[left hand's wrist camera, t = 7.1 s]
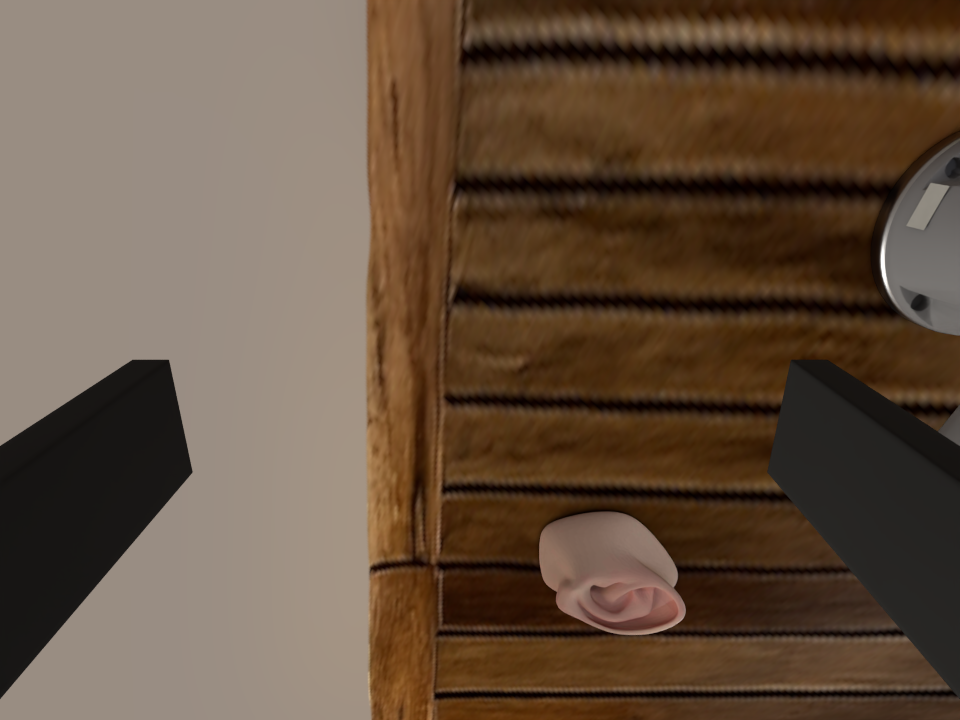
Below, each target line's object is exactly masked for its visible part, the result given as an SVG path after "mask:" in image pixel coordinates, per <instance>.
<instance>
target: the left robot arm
mask: <svg viewBox="0 0 960 720" xmlns="http://www.w3.org/2000/svg"><path fill="white" fill-rule="evenodd" d="M871 266H872V273H873V276H874V280H875V283H876V285H877V288H878V290H879V292H880V294H881V295H882V297H883V298H884V300H885V301H886V303H887V304H888V305H889V306H890V307H891V308H892V309H893V310H894V311H895V312H897V313H898V314H899V315H901V316H902V317H904V318H905V319H907V320H909V321H912V322H914V323H916V324H918V325H921V326H923V327H925V328H927V329H930V330H933V331H936V332H941V333H945V334H953V335H960V131H959V132H957V133H955V134H953V135H951V136H949V137H947V138H946V139H944V140H942V141H941V142H939V143H938V144H936V145H935V146H933V147H932V148H930V149H929V150H928V151H927V152H925V153H924V154H923V155H922V156H921V157H920V158H919V159H917V160H916V161H915V162H914V163H913V164H912V165H911V166H910V167H909V168H908V170H907V171H906V172H905V173H904V174H903V175H902V177H901V178H900V179H899V180H898V182H897V183H896V184H895V186H894V187H893V189H892V190H891V192H890V193H889V195H888V197H887V199H886V201H885V202H884V204H883V207H882V209H881V211H880V213H879V216H878V219H877V221H876V225H875V228H874V232H873V237H872V243H871ZM191 474H192V467H191V462H190V458H189V453H188V448H187V443H186V439H185V434H184V429H183V424H182V420H181V415H180V410H179V405H178V401H177V396H176V391H175V386H174V382H173V377H172V372H171V367H170V363H169V360H132V361H130V362H129V363H127V364H125V365H124V366H122V367H121V368H119V369H118V370H116V371H115V372H113V373H112V374H110V375H109V376H107V377H106V378H104V379H102V380H101V381H99V382H98V383H96V384H95V385H93V386H92V387H90V388H89V389H87V390H86V391H84V392H83V393H81V394H79V395H78V396H76V397H75V398H73V399H72V400H70V401H69V402H67V403H66V404H64V405H63V406H61V407H59V408H58V409H56V410H55V411H53V412H52V413H50V414H49V415H47V416H46V417H44V418H43V419H41V420H39V421H38V422H36V423H35V424H33V425H32V426H30V427H29V428H27V429H26V430H24V431H23V432H21V433H19V434H18V435H16V436H15V437H13V438H12V439H10V440H9V441H7V442H6V443H4V444H3V445H1V446H0V699H1V697H2V696H3V695H4V694H5V693H6V691H7V690H8V689H9V688H10V687H11V686H12V684H13V683H14V682H15V681H16V680H17V679H18V677H19V676H20V675H21V674H22V673H23V671H24V670H25V669H26V668H27V667H28V666H29V664H30V663H31V662H32V661H33V660H34V658H35V657H36V656H37V655H38V654H39V653H40V651H41V650H42V649H43V648H44V647H45V646H46V644H47V643H48V642H49V641H50V640H51V638H52V637H53V636H54V635H55V634H56V633H57V631H58V630H59V629H60V628H61V627H62V625H63V624H64V623H65V622H66V621H67V620H68V618H69V617H70V616H71V615H72V614H73V612H74V611H75V610H76V609H77V608H78V607H79V605H80V604H81V603H82V602H83V601H84V600H85V598H86V597H87V596H88V595H89V594H90V592H91V591H92V590H93V589H94V588H95V587H96V585H97V584H98V583H99V582H100V581H101V580H102V578H103V577H104V576H105V575H106V574H107V573H108V571H109V570H110V569H111V568H112V567H113V565H114V564H115V563H116V562H117V561H118V560H119V558H120V557H121V556H122V555H123V554H124V552H125V551H126V550H127V549H128V548H129V547H130V545H131V544H132V543H133V542H134V541H135V539H136V538H137V537H138V536H139V535H140V534H141V532H142V531H143V530H144V529H145V528H146V527H147V525H148V524H149V523H150V522H151V521H152V519H153V518H154V517H155V516H156V515H157V514H158V512H159V511H160V510H161V509H162V508H163V507H164V505H165V504H166V503H167V502H168V501H169V499H170V498H171V497H172V496H173V495H174V494H175V492H176V491H177V490H178V489H179V488H180V486H181V485H182V484H183V483H184V482H185V481H186V479H187V478H188V477H189V476H190V475H191ZM768 474H769V475H770V476H771V477H772V478H773V479H774V481H775V482H776V483H777V484H778V485H779V487H780V488H781V489H782V490H783V491H784V492H785V494H786V495H787V496H788V497H789V498H790V499H791V501H792V502H793V503H794V504H795V505H796V507H797V508H798V509H799V510H800V511H801V512H802V514H803V515H804V516H805V517H806V518H807V520H808V521H809V522H810V523H811V524H812V525H813V527H814V528H815V529H816V530H817V531H818V532H819V534H820V535H821V536H822V537H823V538H824V540H825V541H826V542H827V543H828V544H829V545H830V547H831V548H832V549H833V550H834V551H835V552H836V554H837V555H838V556H839V557H840V558H841V560H842V561H843V562H844V563H845V564H846V565H847V567H848V568H849V569H850V570H851V571H852V573H853V574H854V575H855V576H856V577H857V578H858V580H859V581H860V582H861V583H862V584H863V585H864V587H865V588H866V589H867V590H868V591H869V593H870V594H871V595H872V596H873V597H874V598H875V600H876V601H877V602H878V603H879V604H880V605H881V607H882V608H883V609H884V610H885V611H886V613H887V614H888V615H889V616H890V617H891V618H892V620H893V621H894V622H895V623H896V624H897V626H898V627H899V628H900V629H901V630H902V631H903V633H904V634H905V635H906V636H907V637H908V638H909V640H910V641H911V642H912V643H913V644H914V646H915V647H916V648H917V649H918V650H919V651H920V653H921V654H922V655H923V656H924V657H925V658H926V660H927V661H928V662H929V663H930V664H931V666H932V667H933V668H934V669H935V670H936V671H937V673H938V674H939V675H940V676H941V677H942V679H943V680H944V681H945V682H946V683H947V684H948V686H949V687H950V688H951V689H952V690H953V691H954V693H955V694H956V695H957V696H958V697H959V699H960V405H959V406H958V408H957V409H956V410H955V411H954V412H953V414H952V415H951V416H950V417H949V419H948V420H947V421H946V422H945V423H944V425H943V426H942V427H941V428H940V430H939V431H938V432H937V431H936V430H934V429H933V428H931V427H930V426H928V425H927V424H925V423H924V422H922V421H921V420H919V419H918V418H916V417H914V416H913V415H911V414H910V413H908V412H907V411H905V410H904V409H902V408H901V407H899V406H898V405H896V404H894V403H893V402H891V401H890V400H888V399H887V398H885V397H884V396H882V395H881V394H879V393H878V392H876V391H874V390H873V389H871V388H870V387H868V386H867V385H865V384H864V383H862V382H861V381H859V380H858V379H856V378H855V377H853V376H851V375H850V374H848V373H847V372H845V371H844V370H842V369H841V368H839V367H838V366H836V365H835V364H833V363H831V362H830V361H828V360H791V363H790V367H789V372H788V377H787V382H786V386H785V391H784V396H783V401H782V405H781V410H780V415H779V420H778V424H777V429H776V434H775V439H774V443H773V448H772V453H771V458H770V462H769V467H768Z"/></svg>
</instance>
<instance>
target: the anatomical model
mask: <svg viewBox="0 0 960 720" xmlns="http://www.w3.org/2000/svg"><path fill="white" fill-rule="evenodd" d="M539 560H540V567H541V572H542V576H543V579H544V581H545V583H546V584H547V585H548V586H549V587H550V588H552V589H553V590H555V591H557V595H556V602H557V605H558V607H559V608H560V609H561V610H562V611H563V612H565V613H567V614H569V615H571V616H573V617H575V618H578V619H580V620H582V621H584V622H586V623H588V624H590V625H592V626H594V627H597V628H599V629H602V630H604V631H608V632H611V633H616V634H624V635H642V634H650V633H655V632H659V631H662V630H665V629H668V628H670V627H672V626H674V625H676V624H677V623H679V622H680V621H681V620H682V619H683V618H684V616H685V611H686V609H685V605H684V602H683V600H682V598H681V597H680V595H679V594H678V593H677V591H676V590H675V589H674V588H673V587H674V586H675V584H676V582H677V579H678V573H677V569H676V567H675V565H674V563H673V561H672V559H671V557H670V556H669V554H668V553H667V552H666V550H665V549H664V547H663V546H662V545H661V544H660V542H659V541H658V540H657V539H656V538H655V537H654V535H653V534H652V533H651V532H650V531H649V530H648V529H647V528H646V527H645V526H644V525H643V524H641V523H640V522H639V521H638V520H636V519H635V518H633V517H631V516H629V515H626V514H623V513H618V512H590V513H584V514H578V515H574V516H569V517H566V518H562V519H559V520H556V521H554V522H552V523H550V524H548V525H547V526H546V527H545V528H544V529H543V531H542V533H541V536H540V543H539Z"/></svg>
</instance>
